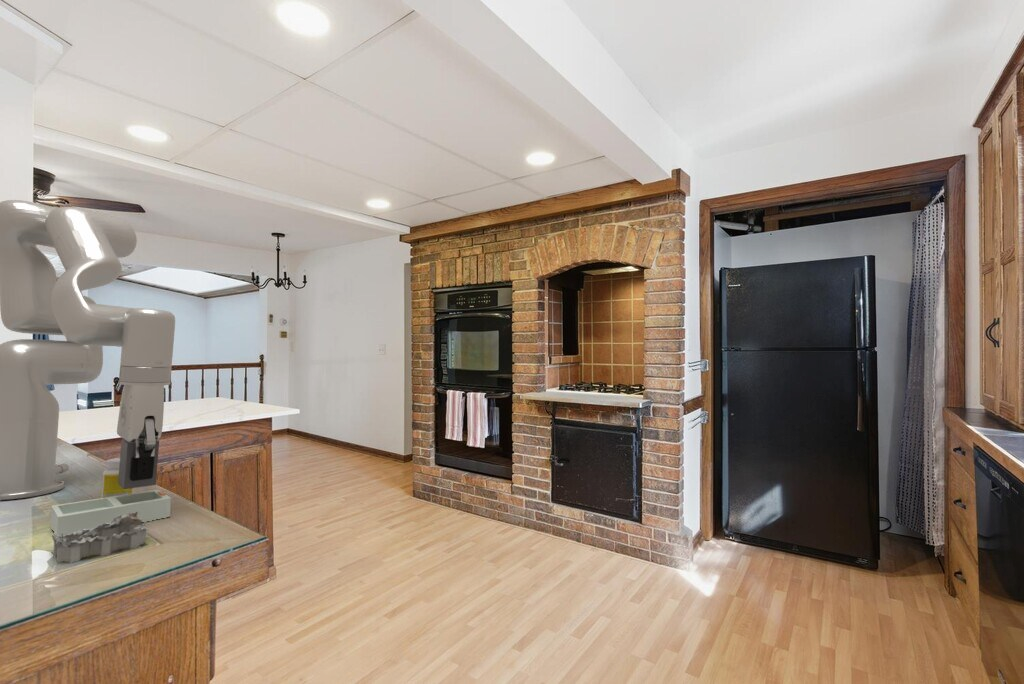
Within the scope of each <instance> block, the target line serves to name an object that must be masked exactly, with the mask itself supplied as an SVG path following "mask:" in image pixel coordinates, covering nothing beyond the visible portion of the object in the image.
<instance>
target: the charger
mask: <svg viewBox="0 0 1024 684" xmlns="http://www.w3.org/2000/svg"><path fill="white" fill-rule="evenodd" d="M143 439H145V437H139V440H143ZM142 444H144V443H140V446H141V445H142ZM159 449H160V440H159V439H157V440H156V443H155V455H154V469H153V477H152V478H151V479H145V480H137V481H131V480H130V472H131V460H132V458H134V439H133V440H132V441H131V442H128V441H126V440H125V439H123V438H122V439H121V443H120V456H119V458H120V465H119V478H118V484H119V485H120V486H121V487H122V488H123V489H130V488H132V489H135V488H143V487H149V486H150V487H152V486H156V485H157V476H158V475H157V474H158V462H159V461H158V460H159V452H160V451H159Z"/></svg>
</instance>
